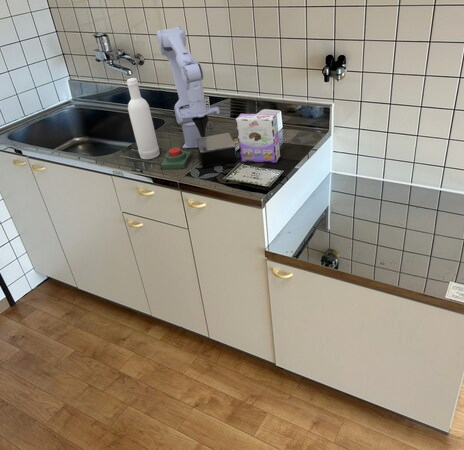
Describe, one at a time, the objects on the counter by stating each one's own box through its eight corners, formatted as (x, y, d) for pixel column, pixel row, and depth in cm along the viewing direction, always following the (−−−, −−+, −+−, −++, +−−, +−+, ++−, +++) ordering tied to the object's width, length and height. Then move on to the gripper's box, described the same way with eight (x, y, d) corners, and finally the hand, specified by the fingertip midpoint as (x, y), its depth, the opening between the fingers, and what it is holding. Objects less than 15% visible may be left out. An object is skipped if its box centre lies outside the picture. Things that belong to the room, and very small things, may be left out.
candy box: (280, 156, 172) (277, 113, 163) (276, 163, 167) (272, 119, 158) (245, 154, 176) (240, 112, 167) (240, 161, 172) (234, 118, 163)
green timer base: (169, 156, 182) (167, 147, 180) (191, 155, 181) (190, 146, 179) (161, 169, 173) (159, 160, 171) (184, 168, 172) (183, 159, 170)
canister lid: (235, 147, 167) (235, 145, 167) (200, 153, 166) (200, 151, 165) (229, 134, 178) (228, 132, 178) (196, 140, 176) (196, 138, 176)
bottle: (141, 152, 188) (122, 77, 172) (160, 149, 188) (143, 74, 172) (139, 160, 181) (119, 83, 165) (159, 158, 182) (141, 80, 165)
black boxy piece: (237, 162, 171) (234, 146, 168) (203, 168, 170) (200, 152, 166) (231, 149, 181) (229, 134, 178) (199, 155, 180) (196, 140, 176)
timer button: (171, 152, 177) (170, 147, 176) (182, 151, 177) (181, 147, 176) (168, 157, 174) (167, 152, 173) (179, 156, 173) (178, 152, 172)
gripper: (178, 107, 158) (185, 144, 165) (219, 98, 161) (224, 135, 169) (174, 101, 164) (181, 137, 171) (214, 93, 167) (219, 128, 175)
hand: (202, 136), depth 170 cm, fingers closed
